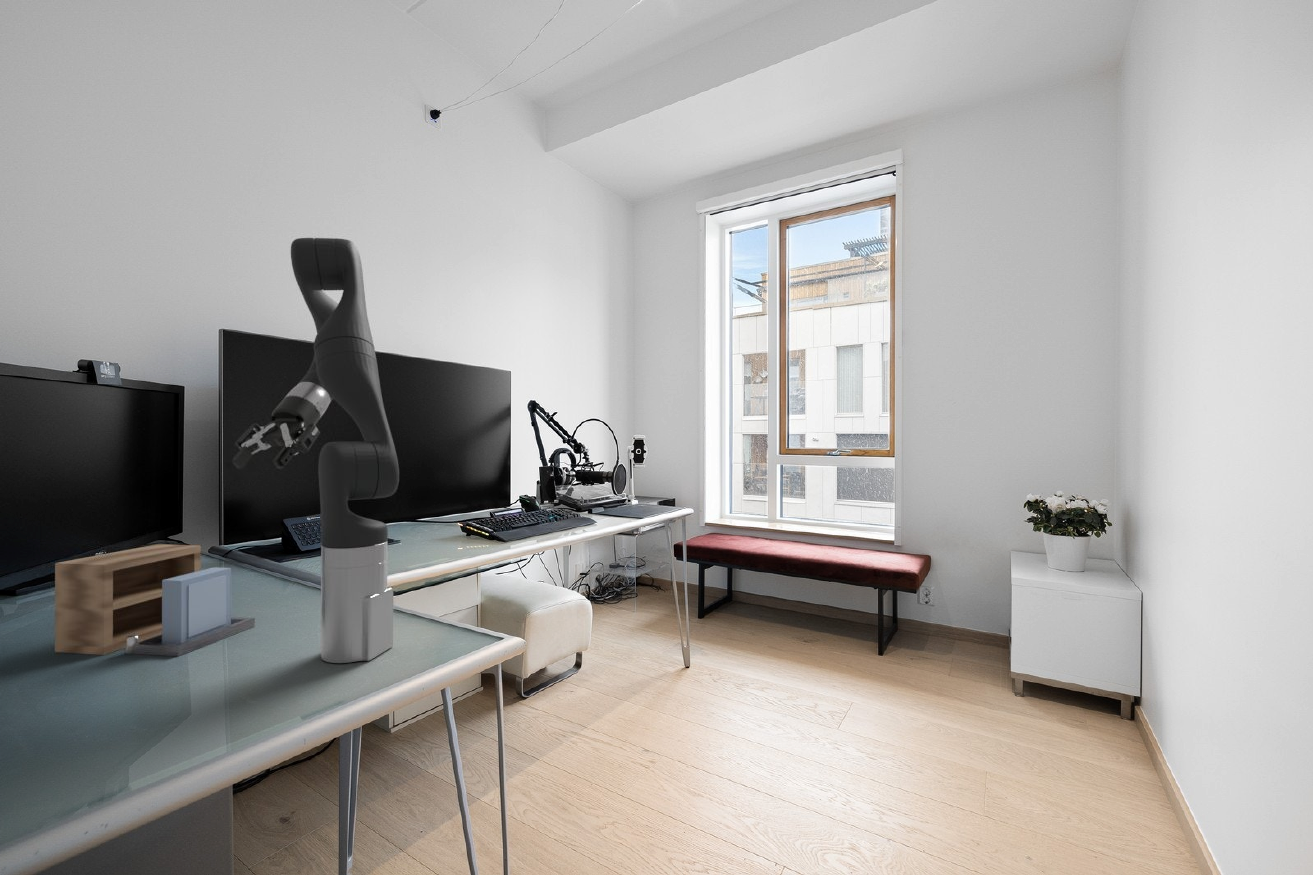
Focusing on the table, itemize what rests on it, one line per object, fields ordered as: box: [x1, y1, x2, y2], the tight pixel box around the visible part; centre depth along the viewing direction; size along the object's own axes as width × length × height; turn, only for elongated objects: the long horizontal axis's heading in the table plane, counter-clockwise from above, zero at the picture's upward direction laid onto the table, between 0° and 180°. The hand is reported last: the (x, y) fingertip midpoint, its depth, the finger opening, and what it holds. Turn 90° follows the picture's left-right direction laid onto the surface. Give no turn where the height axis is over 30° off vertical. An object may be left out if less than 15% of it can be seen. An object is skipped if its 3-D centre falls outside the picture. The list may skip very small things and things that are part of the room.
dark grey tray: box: [125, 616, 256, 657], centre depth 94 cm, size 10×14×2 cm, turn 173°
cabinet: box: [54, 543, 202, 656], centre depth 96 cm, size 9×16×14 cm, turn 173°
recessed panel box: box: [162, 566, 232, 644], centre depth 94 cm, size 4×9×11 cm, turn 173°
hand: (256, 465), depth 106 cm, fingers open, 8 cm apart
